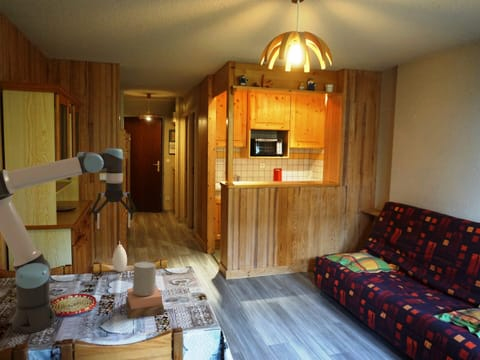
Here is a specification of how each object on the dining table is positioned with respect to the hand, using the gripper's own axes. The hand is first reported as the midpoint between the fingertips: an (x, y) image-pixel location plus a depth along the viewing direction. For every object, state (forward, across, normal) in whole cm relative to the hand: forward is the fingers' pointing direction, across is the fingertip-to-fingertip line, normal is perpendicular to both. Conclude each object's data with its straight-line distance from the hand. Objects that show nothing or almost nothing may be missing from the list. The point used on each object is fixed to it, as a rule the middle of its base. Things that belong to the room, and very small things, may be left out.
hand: (113, 227), depth 172 cm
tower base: (+35, -13, +15) cm, 40 cm away
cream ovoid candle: (+34, -4, -36) cm, 49 cm away
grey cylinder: (+26, -12, +15) cm, 33 cm away
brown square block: (+31, -13, +15) cm, 36 cm away
